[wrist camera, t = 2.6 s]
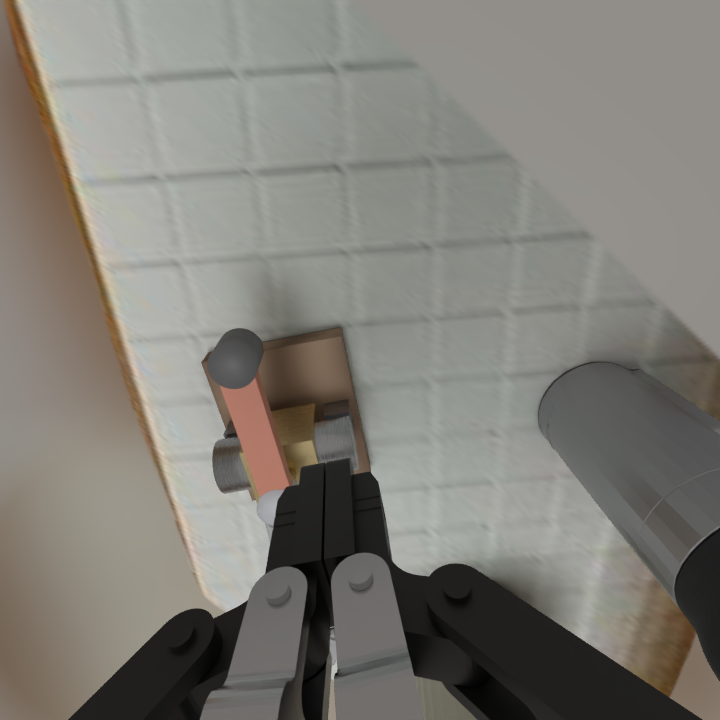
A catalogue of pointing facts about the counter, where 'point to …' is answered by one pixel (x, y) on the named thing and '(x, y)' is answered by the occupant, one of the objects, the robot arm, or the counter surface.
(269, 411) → the valve lever
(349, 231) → the counter surface
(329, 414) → the pipe valve
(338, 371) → the mounting board
